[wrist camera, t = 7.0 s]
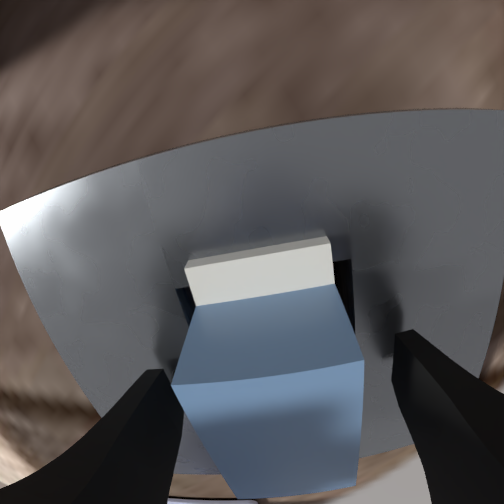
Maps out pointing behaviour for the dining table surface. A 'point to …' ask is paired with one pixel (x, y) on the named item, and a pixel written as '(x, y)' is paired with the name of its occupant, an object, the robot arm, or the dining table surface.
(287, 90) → the dining table surface
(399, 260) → the plate
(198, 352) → the block
